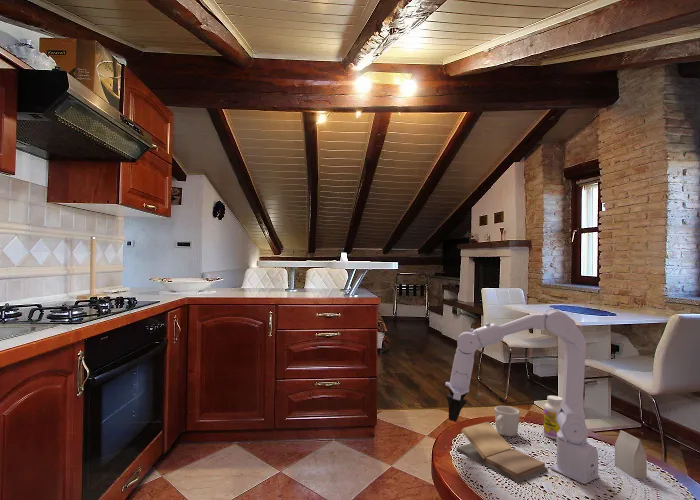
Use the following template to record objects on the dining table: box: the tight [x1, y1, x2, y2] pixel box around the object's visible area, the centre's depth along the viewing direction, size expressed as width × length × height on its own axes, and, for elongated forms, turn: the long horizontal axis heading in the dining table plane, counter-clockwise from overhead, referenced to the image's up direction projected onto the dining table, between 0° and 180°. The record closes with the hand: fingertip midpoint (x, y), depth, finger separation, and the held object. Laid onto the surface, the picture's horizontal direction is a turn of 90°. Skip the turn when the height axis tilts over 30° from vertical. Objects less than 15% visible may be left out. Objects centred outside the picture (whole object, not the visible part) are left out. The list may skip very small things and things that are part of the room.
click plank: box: [461, 421, 512, 459], centre depth 118 cm, size 10×12×1 cm
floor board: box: [455, 442, 549, 484], centre depth 114 cm, size 21×13×2 cm, turn 32°
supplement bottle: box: [543, 395, 563, 441], centre depth 132 cm, size 7×7×13 cm
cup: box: [493, 405, 521, 437], centre depth 132 cm, size 11×8×8 cm
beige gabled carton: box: [614, 429, 648, 479], centre depth 109 cm, size 4×7×10 cm, turn 5°
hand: (453, 416), depth 118 cm, fingers open, 7 cm apart
